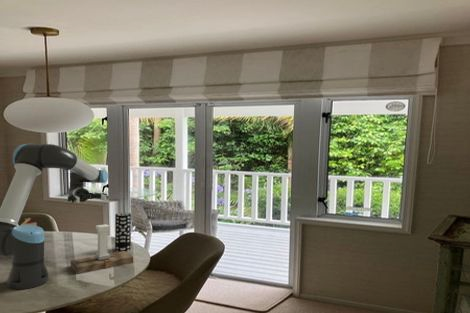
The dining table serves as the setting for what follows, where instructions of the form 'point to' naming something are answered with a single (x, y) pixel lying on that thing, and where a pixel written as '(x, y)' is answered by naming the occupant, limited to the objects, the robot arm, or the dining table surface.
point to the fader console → (101, 262)
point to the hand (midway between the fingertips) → (92, 199)
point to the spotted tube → (122, 232)
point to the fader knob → (102, 242)
